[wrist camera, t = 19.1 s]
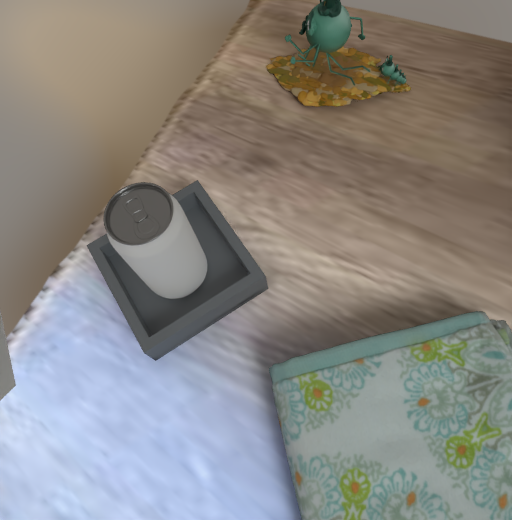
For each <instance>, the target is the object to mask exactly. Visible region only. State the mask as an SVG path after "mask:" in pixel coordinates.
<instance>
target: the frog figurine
mask: <svg viewBox="0 0 512 520" xmlns="http://www.w3.org/2000/svg"><path fill="white" fill-rule="evenodd" d="M350 19H357V20H360V22H361V34H360V35H358V37H359V38H360V39H361V40H364V39H365V36H364V35H363V25H362V19H361V18H357V17H350V16H349V13H348V11H347V10H346V9H345V7H343V6H342V5H341V2H340V0H320V4H318V5H317V6H315V7H314V8H313V9H312V11H311V12H310V13H309V15H307V16H306V21H303V23H302V30H301V32H299V34H301V35H303V34H304V33H305V31H306V36H307V39H308V41H309V43H310V44H311V45H310V47H309V48H308V49H302V50H300V49H299V48H298V47H297V46H296V45H295V44H294V43H293V42H292V41H291V40H290V39H291V36H290V35H288V36H286V37H285V40H286V41H287V42H288V41H290V42H291V43H292V44H293V45H294V46H295V47H296V48H297V49H298V51H299V53H298V54H294V57H293V56H290V55H289V56H287V57H282V56H278V57H276V58H272V59H271V60H272V61H271V64H269V65H267V66H266V67H267V69H269V70H268V71H269V73H273V74H275V77H276V78H277V79H278V82H279V83H280V84H281V87H282V88H284V89H285V90H288V91H292V94H293V95H294V96H296V97H298V100H299V101H300V102H301V103H302V104H303V105H305V106H316V107H319V106H326V105H327V106H336V107H337V106H343V105H344V106H345V105H349V104H350V103H351V100H352V99H358V100H363V99H365V98H367V99H369V98H371V96H376V95H377V94H378V93H379V94H381V93H382V92H384V91H385V92H388V91H390V92H392V93H393V92H402V91H410V89H411V87H409V85H408V84H406V78H405V76H404V73H401V70H400V71H399V70H398V65H396V67H395V65H394V64H393V62H392V55H390V57H389V60H388V58H387V59H386V60H385V61H386V62H384V63H383V64H382V65H381V66H378V67H376V63H379V62H380V61H381V59H376V58H374V57H372V56H370V55H369V54H367V53H363V52H360V51H357V50H356V49H355V48H349V49H348V48H344V47H343V46H344V44H345V43H346V41H347V39H348V37H349V35H350V31H351V27H352V24H351V21H350ZM387 57H388V56H387ZM381 74H382V75H384V76H383V77H379V76H380V75H381ZM357 102H358V101H357Z"/></svg>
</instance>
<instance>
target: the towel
mask: <svg viewBox="0 0 512 520" xmlns="http://www.w3.org/2000/svg"><path fill="white" fill-rule="evenodd" d="M269 373H270V375H271V379H272V384H273V385H272V390H273V394H274V399H275V405H276V409H277V413H278V419H279V423H280V427H281V432H282V436H283V440H284V445H285V450H286V454H287V459H288V463H289V467H290V471H291V476H292V480H293V484H294V488H295V493H296V498H297V502H298V505H299V510H300V514H301V519H302V520H512V332H511V329H510V328H509V326H508V325H507V323H506V321H504V320H499V321H496V320H489V318H488V317H487V315H486V313H485V312H482V311H476V312H471V313H466V314H461V315H458V316H454V317H450V318H446V319H443V320H439V321H435V322H431V323H427V324H423V325H419V326H415V327H412V328H408V329H403V330H398V331H393V332H389V333H384V334H380V335H376V336H372V337H368V338H364V339H360V340H356V341H353V342H349V343H345V344H341V345H338V346H335V347H332V348H328V349H324V350H321V351H317V352H313V353H309V354H306V355H302V356H298V357H294V358H290V359H289V360H287V361H285V362H283V363H278V364H274V365H273V366H272V367H270V368H269Z"/></svg>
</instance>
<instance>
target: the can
mask: <svg viewBox="0 0 512 520" xmlns="http://www.w3.org/2000/svg"><path fill="white" fill-rule="evenodd" d="M104 225H105V229H106V231H107V236H108V239H109V241H110V243H111V245H112V246H113V248H114V249H115V250H116V251H117V252H118V254H119V255H120V256H121V257H122V258H123V259H124V260H125V261H126V263H127V264H128V265H129V266H130V267H131V268H132V269H133V270H134V271H135V272H136V274H137V275H138V276H139V277H140V278H141V279H142V280H143V281H144V282H145V283H146V285H147V286H148V287H149V288H150V289H151V290H152V291H153V292H155V293H156V294H157V295H159V296H161V297H164V298H169V299H176V298H182V297H185V296H187V295H189V294H191V293H192V292H194V291H195V290H196V289H197V288H198V287H199V286H200V285H201V284H202V282H203V281H204V279H205V276H206V273H207V259H206V256H205V254H204V252H203V249H202V247H201V245H200V243H199V241H198V239H197V237H196V235H195V233H194V231H193V229H192V227H191V225H190V223H189V221H188V219H187V217H186V215H185V213H184V211H183V209H182V207H181V206H180V204H179V202H178V201H177V200H176V199H175V198H174V197H173V196H172V195H171V194H169V193H168V192H167V191H166V190H164V189H163V188H162V187H160V186H158V185H156V184H153V183H146V182H141V183H135V184H131V185H129V186H126V187H124V188H123V189H121V190H119V191H118V192H117V193H116V194H115V195H114V196H113V197H112V198H111V199H110V201H109V202H108V204H107V206H106V208H105V212H104Z"/></svg>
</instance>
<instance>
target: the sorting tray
mask: <svg viewBox="0 0 512 520" xmlns="http://www.w3.org/2000/svg"><path fill="white" fill-rule="evenodd" d="M172 196H173V197H174V198H175V199H176V200H177V201H178V202H179V204H180V206H181V207H182V209H183V211H184V213H185V215H186V217H187V219H188V221H189V223H190V225H191V227H192V229H193V231H194V233H195V235H196V237H197V239H198V241H199V243H200V245H201V247H202V249H203V252H204V254H205V256H206V259H207V273H206V276H205V279H204V281H203V282H202V284H201V285H200V286H199V287H198V288H197V289H196V290H195V291H194V292H192V293H191V294H189V295H187V296H185V297H182V298H176V299H169V298H164V297H161V296H159V295H157V294H156V293H155V292H153V291H152V290H151V289H150V288H149V287H148V286H147V285H146V283H145V282H144V281H143V280H142V279H141V278H140V277H139V276H138V275H137V274H136V272H135V271H134V270H133V269H132V268H131V267H130V266H129V265H128V264H127V263H126V261H125V260H124V259H123V258H122V257H121V256H120V255H119V254H118V252H117V251H116V250H115V249H114V248H113V246H112V245H111V243H110V241H109V239H108V236H107V234H105V235H104V236H102V237H100V238H98V239H97V240H95V241H93V242H92V243H90V244H88V245H87V247H88V249H89V251H90V253H91V255H92V256H93V258H94V260H95V262H96V264H97V266H98V268H99V270H100V271H101V273H102V275H103V277H104V279H105V281H106V283H107V284H108V286H109V288H110V290H111V292H112V294H113V296H114V298H115V299H116V301H117V303H118V305H119V307H120V309H121V311H122V312H123V314H124V316H125V318H126V320H127V322H128V324H129V326H130V327H131V329H132V331H133V333H134V335H135V337H136V339H137V340H138V342H139V344H140V346H141V348H142V350H143V352H144V353H145V354H147V355H148V356H149V357H151V358H152V359H154V360H155V361H156V360H158V359H159V358H161V357H162V356H164V355H165V354H167V353H168V352H170V351H172V350H173V349H175V348H176V347H178V346H179V345H181V344H183V343H184V342H186V341H187V340H189V339H190V338H192V337H193V336H195V335H197V334H198V333H200V332H201V331H203V330H204V329H206V328H207V327H209V326H211V325H212V324H214V323H215V322H217V321H218V320H220V319H222V318H223V317H225V316H226V315H228V314H229V313H231V312H232V311H234V310H236V309H237V308H239V307H240V306H242V305H243V304H245V303H247V302H248V301H250V300H251V299H253V298H254V297H256V296H257V295H259V294H261V293H262V292H264V291H265V290H267V289H268V285H267V281H266V276H265V275H264V273H263V272H262V270H261V269H260V267H259V266H258V265H257V263H256V262H255V260H254V259H253V258H252V256H251V255H250V253H249V252H248V251H247V249H246V248H245V246H244V245H243V244H242V242H241V241H240V239H239V238H238V236H237V235H236V234H235V232H234V231H233V229H232V228H231V227H230V225H229V224H228V222H227V221H226V220H225V218H224V217H223V215H222V214H221V213H220V211H219V210H218V208H217V207H216V205H215V204H214V203H213V201H212V200H211V198H210V197H209V196H208V194H207V193H206V191H205V190H204V189H203V187H202V186H201V184H200V183H199V181H198V180H197V181H195V182H194V183H192V184H190V185H189V186H187V187H185V188H184V189H182V190H180V191H178V192H177V193H175V194H173V195H172Z"/></svg>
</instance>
